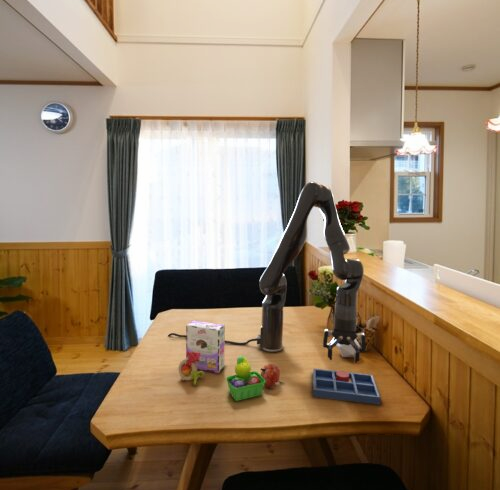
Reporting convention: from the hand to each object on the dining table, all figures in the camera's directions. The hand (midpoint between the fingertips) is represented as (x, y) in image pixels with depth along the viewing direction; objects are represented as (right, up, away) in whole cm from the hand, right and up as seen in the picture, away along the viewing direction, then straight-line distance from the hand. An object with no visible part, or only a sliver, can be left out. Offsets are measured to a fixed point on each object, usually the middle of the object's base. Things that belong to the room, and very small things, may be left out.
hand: (342, 360), depth 122 cm
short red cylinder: (0, -8, +1) cm, 8 cm away
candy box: (-50, -7, +10) cm, 51 cm away
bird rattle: (-54, -7, -1) cm, 54 cm away
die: (+8, -8, +22) cm, 25 cm away
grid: (0, -9, -3) cm, 9 cm away
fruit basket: (-35, -8, -7) cm, 36 cm away
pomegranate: (-25, -8, -1) cm, 27 cm away
